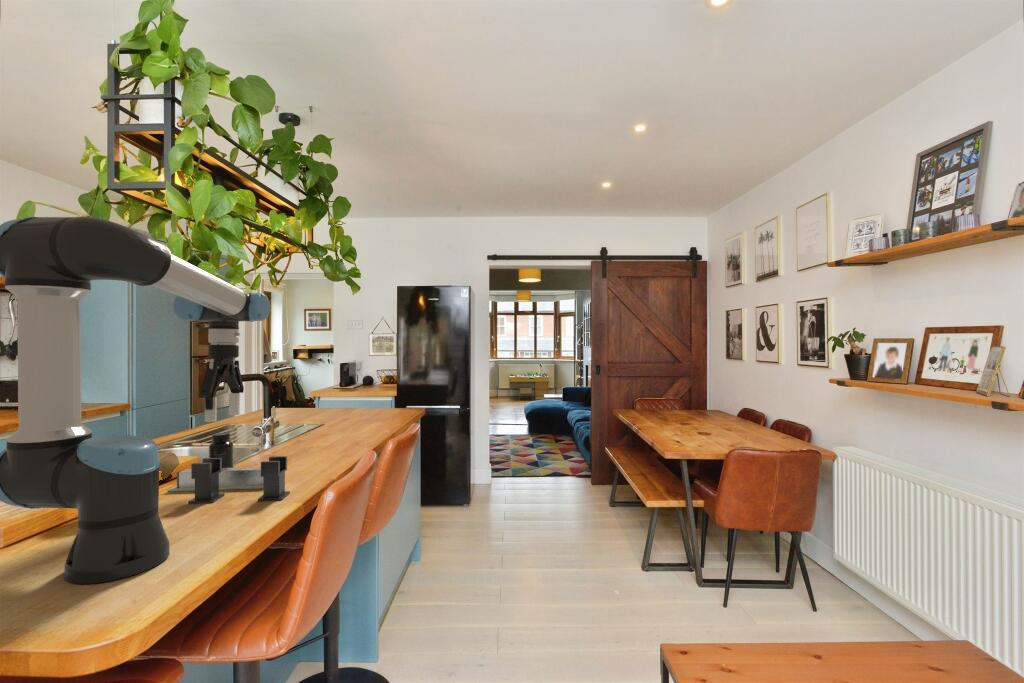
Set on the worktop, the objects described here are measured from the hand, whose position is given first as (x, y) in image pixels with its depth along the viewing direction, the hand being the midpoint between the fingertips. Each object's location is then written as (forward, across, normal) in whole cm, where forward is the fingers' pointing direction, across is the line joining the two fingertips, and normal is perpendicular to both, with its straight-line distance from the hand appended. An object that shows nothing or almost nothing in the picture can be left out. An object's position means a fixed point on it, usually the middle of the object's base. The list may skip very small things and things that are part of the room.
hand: (223, 418), depth 138 cm
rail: (+19, +1, -1) cm, 19 cm away
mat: (+20, +1, -1) cm, 20 cm away
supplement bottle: (+20, +19, +9) cm, 29 cm away
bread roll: (+20, +11, +24) cm, 33 cm away
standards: (+20, -11, -10) cm, 25 cm away
